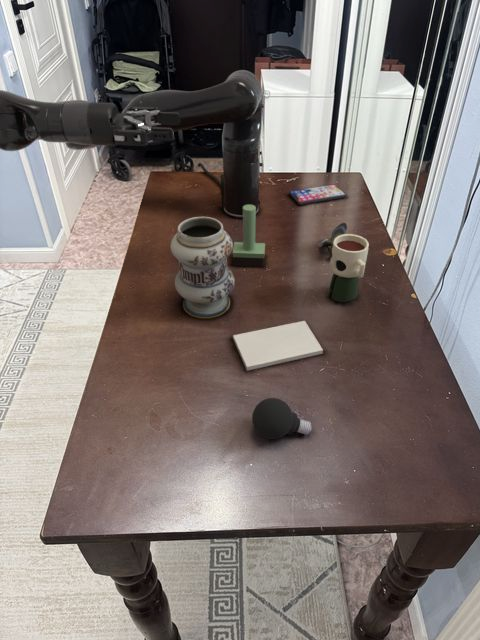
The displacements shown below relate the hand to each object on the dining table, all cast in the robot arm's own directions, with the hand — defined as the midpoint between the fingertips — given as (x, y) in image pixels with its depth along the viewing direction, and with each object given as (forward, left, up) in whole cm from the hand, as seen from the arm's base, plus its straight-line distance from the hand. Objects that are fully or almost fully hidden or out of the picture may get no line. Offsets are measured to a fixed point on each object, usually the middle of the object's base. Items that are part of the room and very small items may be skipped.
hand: (176, 126), depth 95 cm
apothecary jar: (+15, -9, -30) cm, 35 cm away
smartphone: (+3, +47, -30) cm, 56 cm away
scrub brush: (+11, +9, -30) cm, 33 cm away
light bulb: (+48, -24, -30) cm, 61 cm away
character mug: (+35, +13, -30) cm, 48 cm away
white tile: (+35, -9, -30) cm, 47 cm away
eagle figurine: (+23, +26, -30) cm, 46 cm away
